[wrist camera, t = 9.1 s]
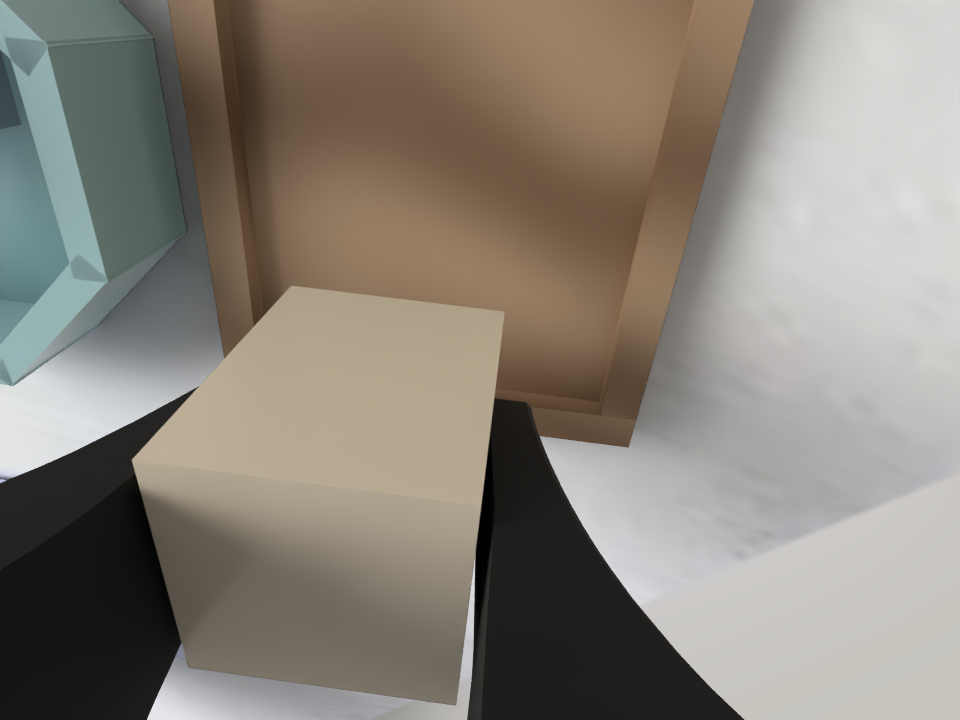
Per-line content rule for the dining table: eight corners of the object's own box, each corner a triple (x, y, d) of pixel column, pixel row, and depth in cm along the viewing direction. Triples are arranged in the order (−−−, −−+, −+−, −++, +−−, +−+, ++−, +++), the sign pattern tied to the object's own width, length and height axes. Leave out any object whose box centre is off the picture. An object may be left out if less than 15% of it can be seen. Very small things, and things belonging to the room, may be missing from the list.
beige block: (484, 475, 13) (456, 705, 9) (304, 452, 13) (188, 667, 9) (504, 311, 11) (480, 506, 7) (291, 285, 11) (130, 460, 7)
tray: (623, 422, 18) (628, 447, 17) (247, 375, 19) (230, 395, 18) (801, -239, 11) (828, -265, 10) (155, -296, 11) (115, -327, 10)
